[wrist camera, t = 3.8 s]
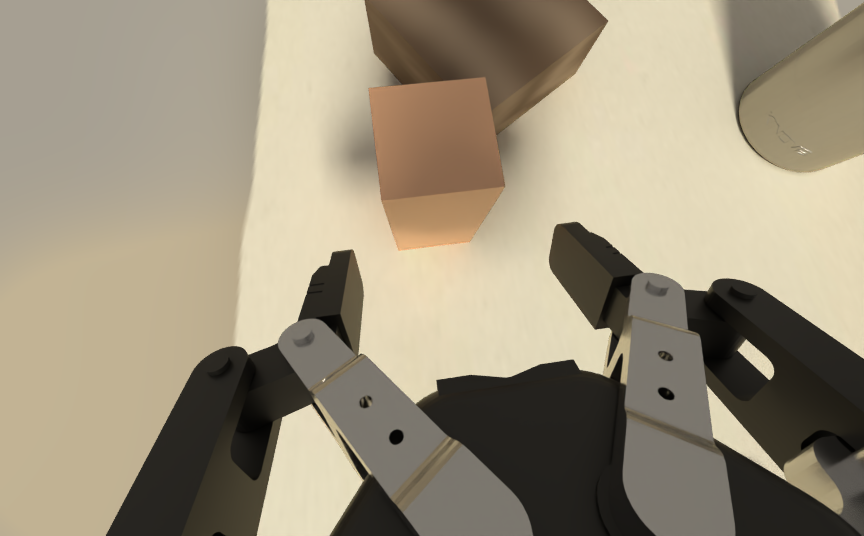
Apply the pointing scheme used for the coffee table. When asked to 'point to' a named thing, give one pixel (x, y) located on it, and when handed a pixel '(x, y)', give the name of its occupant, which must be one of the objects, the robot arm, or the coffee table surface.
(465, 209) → the peach block
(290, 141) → the coffee table surface
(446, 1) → the walnut block
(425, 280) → the coffee table surface
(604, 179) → the coffee table surface
